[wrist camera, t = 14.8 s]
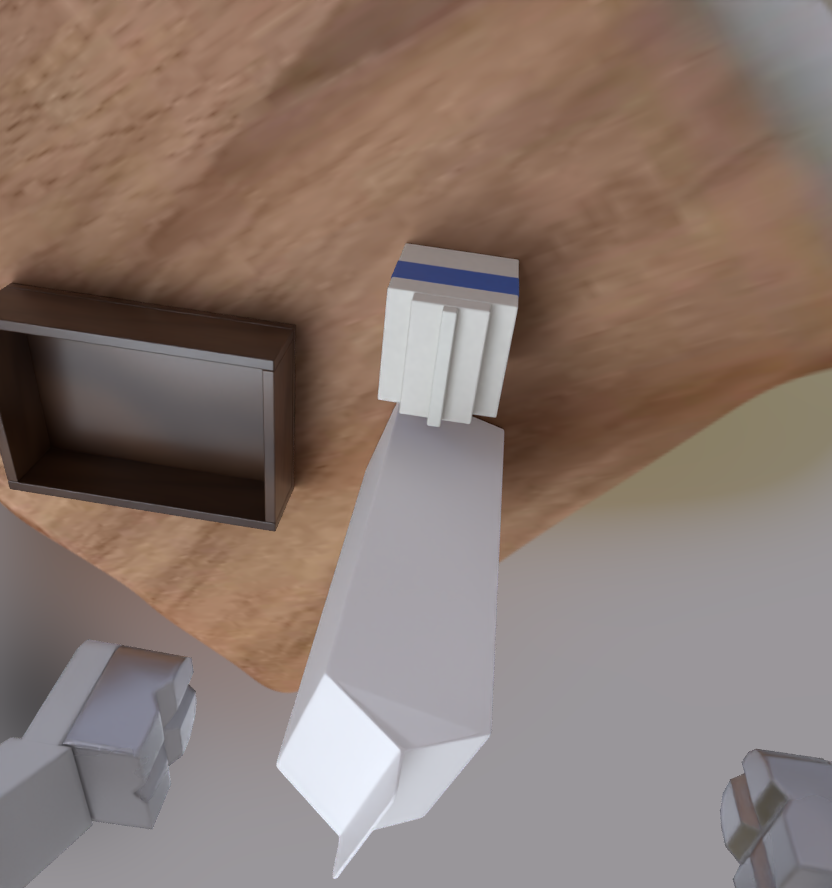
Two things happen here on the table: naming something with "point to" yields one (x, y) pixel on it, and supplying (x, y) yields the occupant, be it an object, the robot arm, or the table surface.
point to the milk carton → (448, 333)
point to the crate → (147, 406)
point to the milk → (403, 634)
